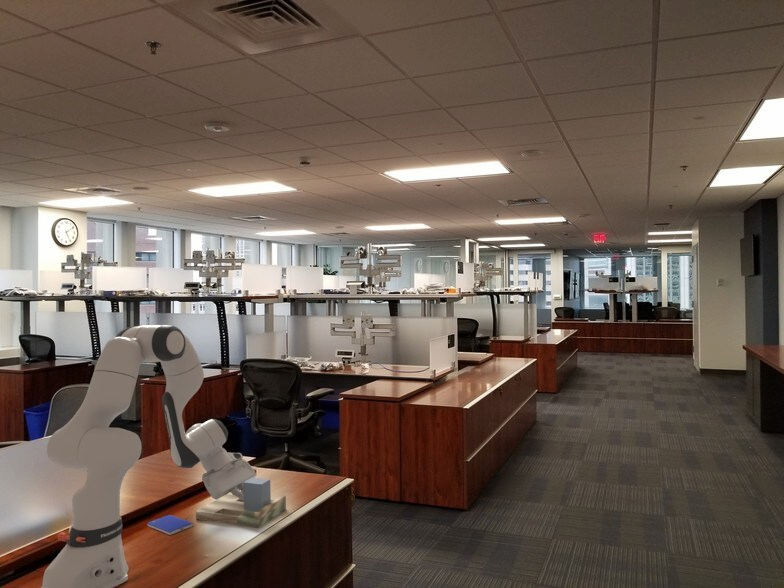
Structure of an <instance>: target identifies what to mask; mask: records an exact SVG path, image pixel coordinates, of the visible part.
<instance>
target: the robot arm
mask: <svg viewBox="0 0 784 588" xmlns="http://www.w3.org/2000/svg"><path fill="white" fill-rule="evenodd" d="M159 362H160V365H161V367H162V370H163V373H164V377H165V380H166V381H165V382H166V385H165V390H164V393H163V395H162V399H161V401H162V408H163V409H162V410H163V414H164V420H165V425H166V429H167V434H168V440H169V453H170V455H171V458H172V461H173V463H174V464H175V465H176V466H177V467H179V468H182V469H192V468H193V467H195V466H196V465H197V464H198V463H201V465H202V468H203V469H204V470H205V472H204V473H203V474H202V476H201V481H202V482H203V483H204V486H205V489H206V490H207V492H208V494H209V495H210V497H212V499H214V500H217V499H219V498H221V497H223V496H225V495H226V494H228V495H229V493H230V494H231V495H235V496H237V497H238V498H239V499H240V500H241V501H242V500H244V494H243V482H245V481H247V480H248V479H250V478H256V476H257V475H256V471H255V470H254V468H253V467H252V465H251V464H250V463H249V462H248V461H247V459H246V460H245V459H243V457H244V456H243V454H242V453H241V452H227V450H226V449H225V448H224V447H223V445H224V444H225V443H226V442H227V440H228V436H229V430H228V429H227V427H226V426H225V425H224V423H223V421H221V420H218V419H216V418H210V419H208V420H207V421H204V422H203V423H200V422H199V423H195V424H193V425H192V426H191V427H189V428H188V429H187V430H186V431H185V426H184V420H183V411H184V409H185V407H186V405H187V404H188V402H189V401H190V400H191V399H192V398H193V397H194V395H196V393H197V392H198V391H199V389H200V388H201V386H202V384H203V381H204V377H205V375H204V369H203V365H202V363H201V360H200V358H199V356H198V353H197V351H196V350H195V348H194V345H193V344H192V342H191V341H190V339H189V338H188V337H187V336H186V335H185V334H184V333H183V331H182V330H181V329H180V328H179V327H177V326H174V325H171V324H162V325H161V324H144V325H143V324H142V325H137V326H129V327H126V328H124V329H122V330H120V331H119V332H118V333H117V334H116V335H115V337H113V338H111V339H109V340H108V341H107V342H106V344H105V345H104V347H103V349H102V351H101V352H100V355H99V358H98V360H97V362H96V365H95V367H94V369H93V370H94V371H93V374H92V377H91V380H90V383H89V386H88V389H87V392H86V394H85V397H84V400H83V402H82V403H81V405H80V407H79V408H78V410H76V413H75V414H74V415H73V416H72V418H70V420H69V421H67V423H66V424H64V425H63V426H62V427H61V428H59V429H57V430H56V431H55V432H53V434H52V435H51V436H50V438H49V439H48V443H47V447H46V455H47V457H48V459H49V461H50V462H51V463H53V464H54V465H58V466H60V467H64V468H66V469H71V470H82V471H83V470H84V471H85V470H86V474H87V476H86V480H85V483H84V485H82V486H81V487H80V488H78V489H77V490H76V491H75V492H74V494H73V495H72V498H71V508H72V509H71V516H72V525H71V527H70V529H69V532H63V531H62V532H60V533H58V535H57V541H59V542H66V544H65V546H64V547H63V548H62V549H61V550H60V552H59V553H58V554H57V556H56V557H55V558H54V559H53V560H52V561H51V563H49V565H48V566H47V568H46V569H45V571H44V573H43V577H42V586H41V587H40V588H115V587H117V586H119V585H121V584H123V583H125V582H127V581H128V580H129V576H128V572H129V566H128V564H127V560H126V556H125V553H124V552H125V551H124V547H123V546H124V545H123V540H122V533H123V519H122V516H121V507H120V506H121V503H120V502H121V487H122V484H123V480H124V478H125V476H126V474H127V472H128V471H129V470H130V469H132V467H134V466H135V465H136V464H137V462H138V461H139V458H140V457H141V454H142V451H143V450H142V441H141V439H140V437H139V434H137V433H136V432H133V431H131V430H127V429H124V428H121V427H110V425H111V423H112V422H113V421H114V420H115V418H117V417H118V416H119V415H121V414H123V413H125V412H126V411H127V410H128V409H129V407H130V406H131V402H132V398H133V395H134V392H135V388H136V384H137V380H138V376H139V373H140V372H139V371H140V368H141V367H140V366H141V365H142V364H143V363H147V364H148V363H150V364H151V363H159Z"/></svg>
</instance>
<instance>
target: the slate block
mask: <svg viewBox="0 0 784 588" xmlns="http://www.w3.org/2000/svg"><path fill="white" fill-rule="evenodd" d="M243 494H244V510H249V511H258V510H260V509H261V508H263V507H264V506H266V505H267V504H269V503H271V500H272V499H271V497H272V495H271V479H269V478H259V477H254V478H250V479H248V480H247V481H245V482H243Z"/></svg>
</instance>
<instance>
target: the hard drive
mask: <svg viewBox="0 0 784 588" xmlns="http://www.w3.org/2000/svg"><path fill="white" fill-rule="evenodd" d="M193 526H194V523H193V522H190V521H188V520H185V519H182V518H179V517H177V516H175V515H172V514H168V515H164V516H162V517H160V518H157V519H153V520H152V521H149V522H147V527H148V528H152V529H154V530H157V531H158V532H162V533H164V534H166V535H170V536H171V535H173V534H176V533H179V532H181V531H184V530H186V529H189V528H192V527H193Z"/></svg>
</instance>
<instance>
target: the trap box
mask: <svg viewBox="0 0 784 588" xmlns="http://www.w3.org/2000/svg"><path fill="white" fill-rule="evenodd" d="M286 498H287V497H286V495H285V494H283V495H280V496H277V498H275V499H271V503H269V504H267V505H266V506H264V507H263V508H261V509H260V510H258V511H249V510H244V500H242V501H241V500H240V499H239V498H238V497H237V496H235V495H233V494H229V493H228V494H226V495H224V496H222V497H221V498H219V499H217V500H216V499H214V501H212V502H210V503H208V504H206V505H205V506H203V507H201V508H199V509H197V510H195V519H196V520H200V521H201V520H203V521H209V522H214V523H215V522H217V523H223V524H229V525H230V524H231V525H237V526H243V527H251V528H256V529H257V528H258V529H259V528H261V527H262V526H264V525H266V524H267V523H268V522H269V521H271V520H272V519H274V518H275V517H277V516H279V514H282V511H283V512H284V511H285V510H286V509H287V499H286Z"/></svg>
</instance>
